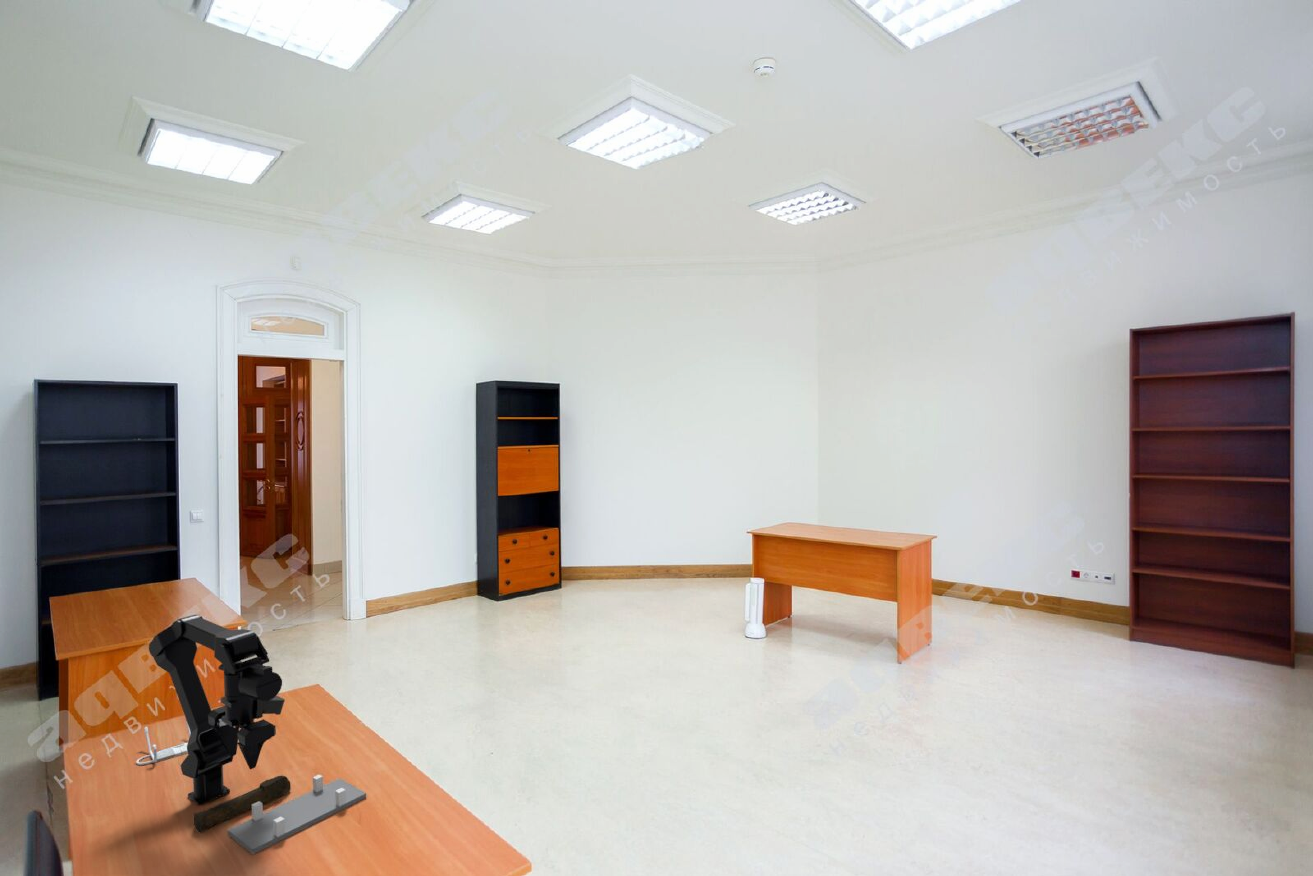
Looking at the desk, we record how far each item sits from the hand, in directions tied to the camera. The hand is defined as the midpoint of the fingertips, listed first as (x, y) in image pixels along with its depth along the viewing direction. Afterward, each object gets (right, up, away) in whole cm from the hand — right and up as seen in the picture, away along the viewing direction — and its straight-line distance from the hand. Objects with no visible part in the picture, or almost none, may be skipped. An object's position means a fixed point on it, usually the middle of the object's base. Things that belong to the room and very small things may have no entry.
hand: (242, 761), depth 150 cm
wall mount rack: (-35, -10, +28) cm, 46 cm away
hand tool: (0, -11, +1) cm, 11 cm away
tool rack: (+13, -11, -2) cm, 17 cm away
